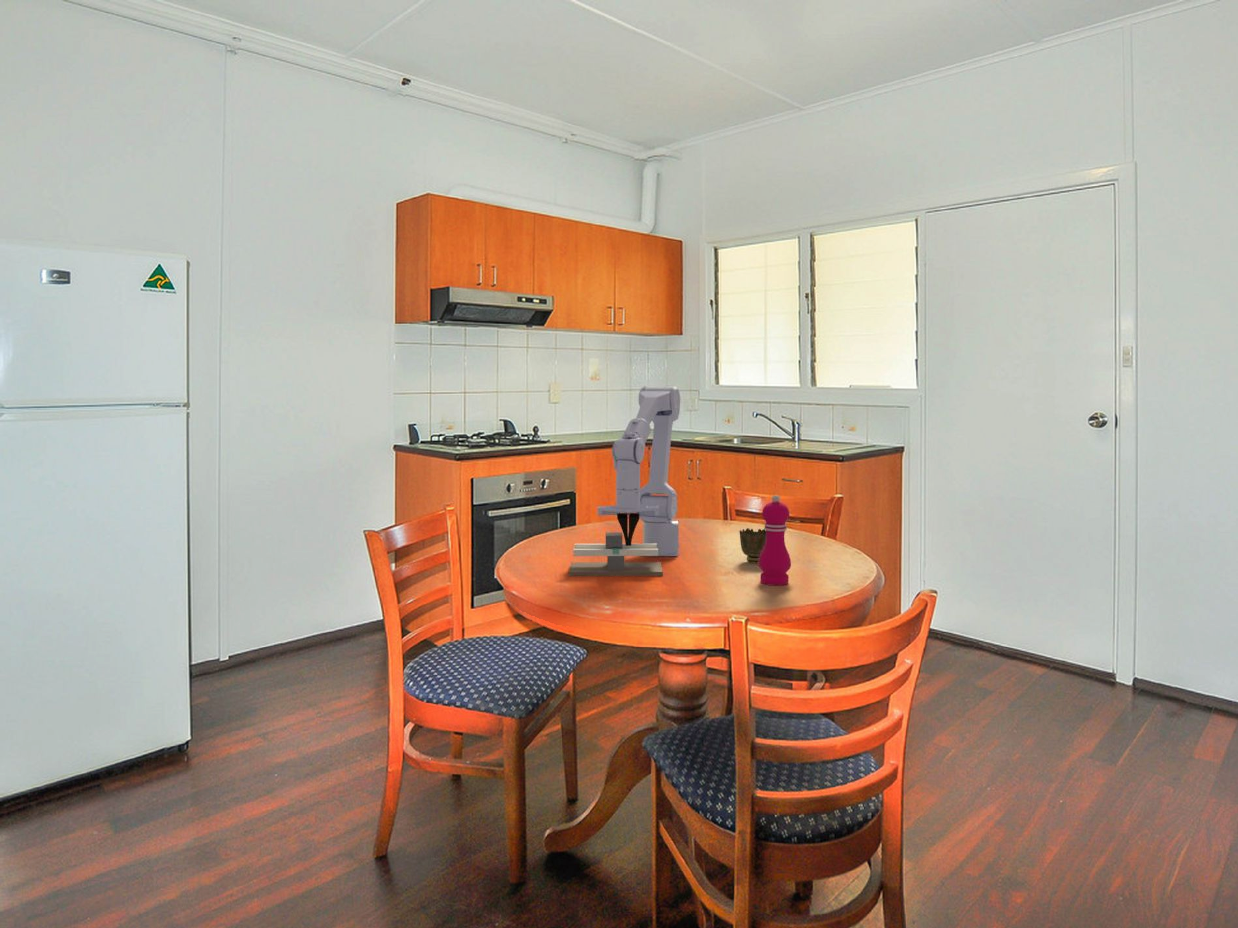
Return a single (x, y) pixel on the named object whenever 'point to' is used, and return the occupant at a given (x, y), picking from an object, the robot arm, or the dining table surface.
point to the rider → (614, 540)
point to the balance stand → (616, 561)
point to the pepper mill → (775, 544)
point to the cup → (752, 543)
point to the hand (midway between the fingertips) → (628, 544)
